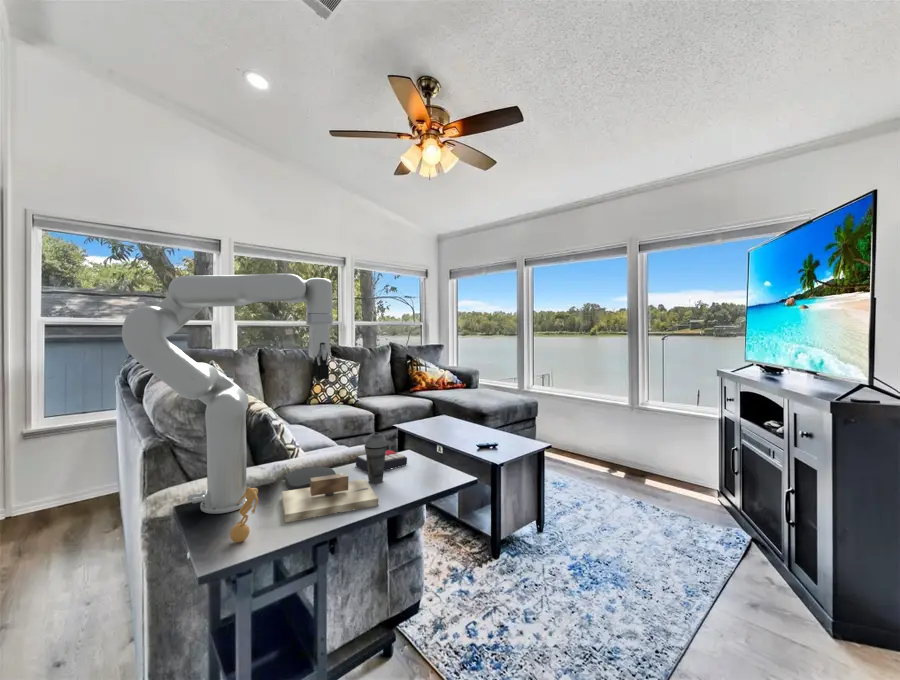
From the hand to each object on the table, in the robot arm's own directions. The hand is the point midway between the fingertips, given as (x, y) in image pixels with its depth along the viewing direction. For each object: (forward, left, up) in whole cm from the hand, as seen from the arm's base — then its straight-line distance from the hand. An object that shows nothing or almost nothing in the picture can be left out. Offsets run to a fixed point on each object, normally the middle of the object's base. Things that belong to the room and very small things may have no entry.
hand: (320, 377), depth 120 cm
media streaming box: (-2, +9, -35) cm, 36 cm away
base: (+1, -9, -35) cm, 36 cm away
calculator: (+23, +15, -35) cm, 45 cm away
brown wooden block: (+1, -9, -32) cm, 34 cm away
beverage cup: (+17, +1, -35) cm, 39 cm away
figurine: (-20, -22, -35) cm, 46 cm away
